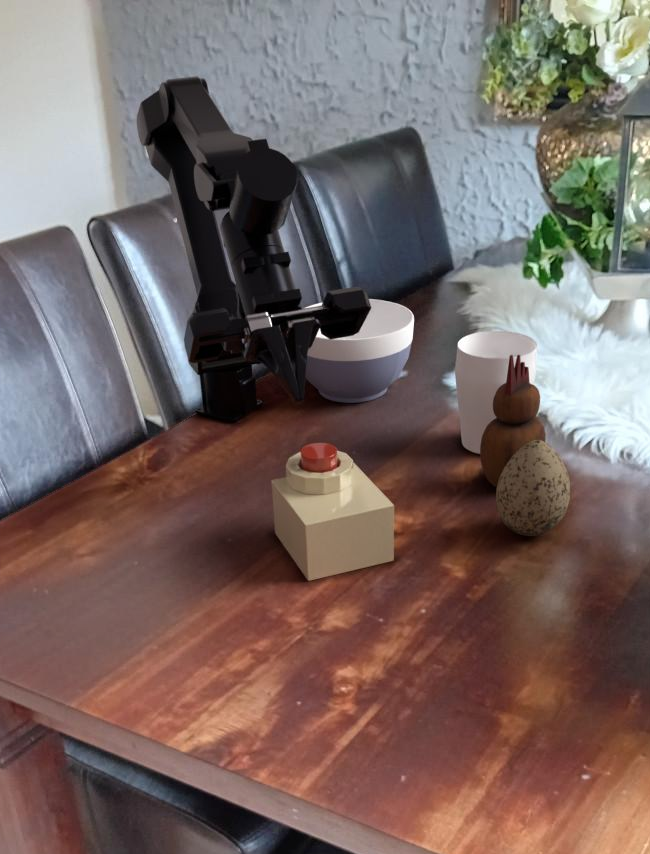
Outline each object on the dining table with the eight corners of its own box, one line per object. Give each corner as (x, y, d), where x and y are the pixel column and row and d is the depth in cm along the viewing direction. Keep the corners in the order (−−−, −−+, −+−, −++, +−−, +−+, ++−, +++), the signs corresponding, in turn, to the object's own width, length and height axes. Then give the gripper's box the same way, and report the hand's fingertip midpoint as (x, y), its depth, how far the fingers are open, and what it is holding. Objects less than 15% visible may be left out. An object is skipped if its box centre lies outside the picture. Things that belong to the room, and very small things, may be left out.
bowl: (309, 421, 126) (306, 346, 121) (281, 376, 139) (277, 307, 133) (429, 403, 129) (431, 329, 123) (391, 361, 141) (391, 292, 136)
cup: (528, 462, 114) (538, 360, 107) (448, 459, 116) (453, 358, 109) (529, 429, 121) (538, 331, 114) (454, 426, 123) (458, 329, 116)
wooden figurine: (500, 501, 107) (511, 365, 98) (469, 480, 111) (476, 348, 102) (551, 484, 109) (566, 351, 101) (518, 464, 114) (529, 334, 105)
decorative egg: (479, 525, 103) (485, 435, 97) (537, 508, 105) (546, 419, 100) (519, 557, 98) (528, 464, 92) (580, 538, 100) (592, 447, 94)
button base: (271, 528, 105) (265, 458, 100) (350, 510, 107) (349, 441, 102) (308, 581, 96) (304, 507, 92) (393, 561, 99) (394, 488, 94)
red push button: (296, 462, 100) (295, 446, 99) (329, 456, 101) (329, 439, 100) (308, 477, 97) (307, 461, 96) (343, 470, 98) (342, 454, 97)
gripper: (325, 289, 113) (364, 417, 111) (164, 315, 109) (201, 448, 106) (350, 231, 102) (393, 372, 100) (172, 257, 98) (214, 405, 96)
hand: (299, 401), depth 101 cm, fingers closed
